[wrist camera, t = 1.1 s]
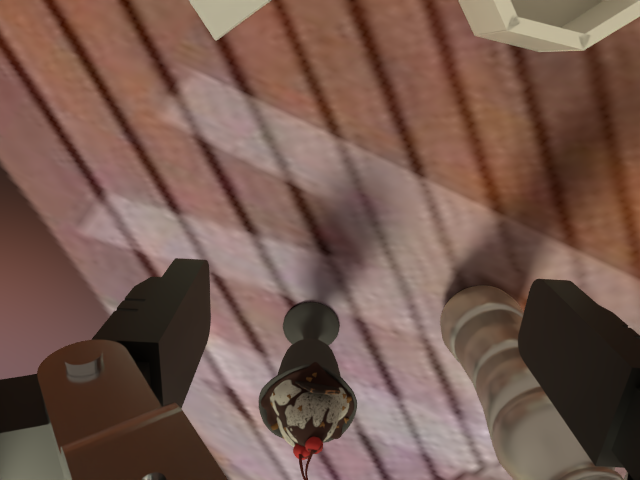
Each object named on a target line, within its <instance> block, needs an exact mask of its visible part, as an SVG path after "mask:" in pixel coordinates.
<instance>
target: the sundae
mask: <svg viewBox="0 0 640 480" xmlns="http://www.w3.org/2000/svg"><path fill="white" fill-rule="evenodd" d="M283 330H284V333H285V336H286V338H287V339H288V340H289V341H290V342H291V343H292V344H293V345H291V346H290V348H289V349H288V350H287V352H286V354H285V356H284V358H283V360H282V363H281V366H280V369H279V372H278V375H277V376H276V377H274V378H273V379H271V380H270V381H269V382H268V383H267V384H266V385H265V386H264V387H263V389H262V390H261V393H260V396H259V410H260V414H261V417H262V419H263V422H264V424H265V425H266V426H267V428H268V429H269V430H270V431H271V432H273V433H274V434H275V435H277V436H279V437H281V438H284V439H285V440H286V441H287V442H288V443H289V444H290V445H292V446H294V449H293V453H294V454H295V456H296V457H297V458H298V459H299V464H300V469H301V473H302V476H303V479H304V480H308V477H307V469H308V464H309V462H310V459H311V457H312V455H313V454H317V453H319V452H320V451H322V449H323V442H329V441H331V440H333V439H338V438H340V437H341V435H342V434H343V433H344V432H345V431H346V429H347V428H348V427H349V426H350V424H351V423H352V421H353V419H354V416H355V413H356V409H357V400H356V397H355V395H354V392H353V391H352V389H351V388H350V387H349V385H348V384H347V383H346V382H345V381H344V380H343V379H342V378H341V376H340V372H339V368H338V364H337V361H336V359H335V356H334V354H333V352H332V350H331V349H330V347H329V346H328V345H330V344H331V343H332V342H333V341H334V340H335V338H336V337H337V335H338V332H339V322H338V318H337V316H336V315H335V313H334V312H333V311H332V310H331V309H330V308H328V307H327V306H325V305H323V304H320V303H314V302H308V303H303V304H299V305H297V306H295V307H294V308H292V309H291V310H290V311H289V312H288V313H287V315H286V317H285V319H284V323H283ZM304 459H308V461H307V464H306V469H305V475H306V478H305V476H304V471H303V465H302V460H304Z"/></svg>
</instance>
